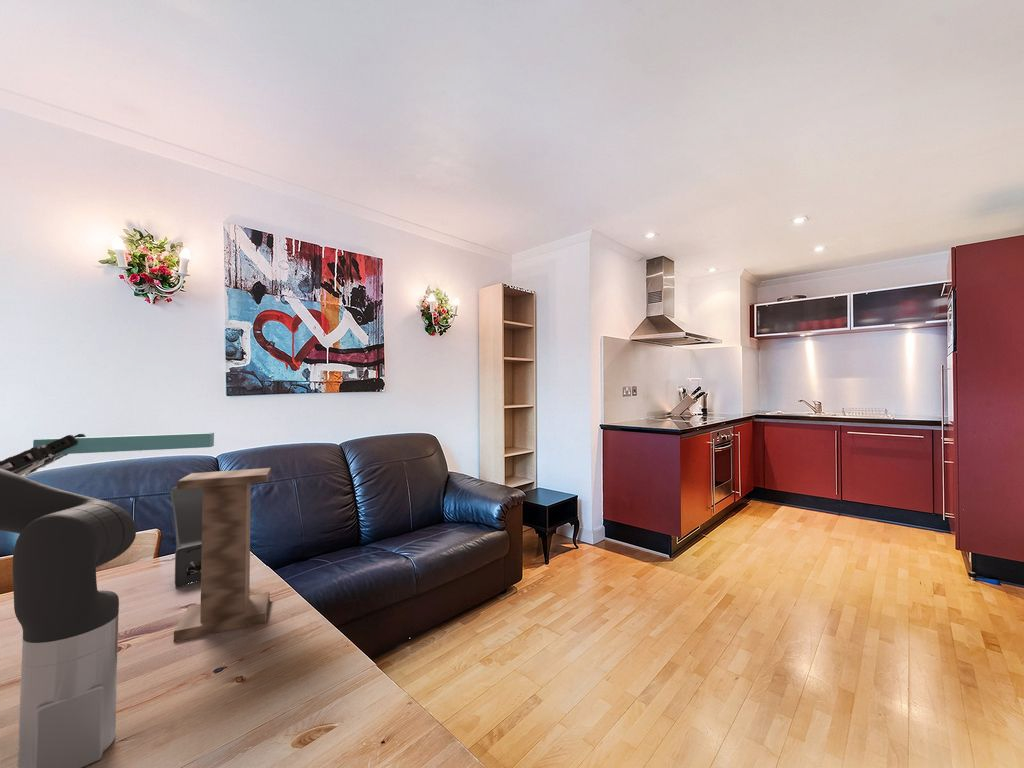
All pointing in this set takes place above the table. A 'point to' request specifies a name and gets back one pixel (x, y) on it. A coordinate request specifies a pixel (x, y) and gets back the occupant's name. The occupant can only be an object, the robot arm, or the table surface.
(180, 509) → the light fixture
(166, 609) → the table surface
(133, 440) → the teal bar
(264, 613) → the walnut stand
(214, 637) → the table surface
